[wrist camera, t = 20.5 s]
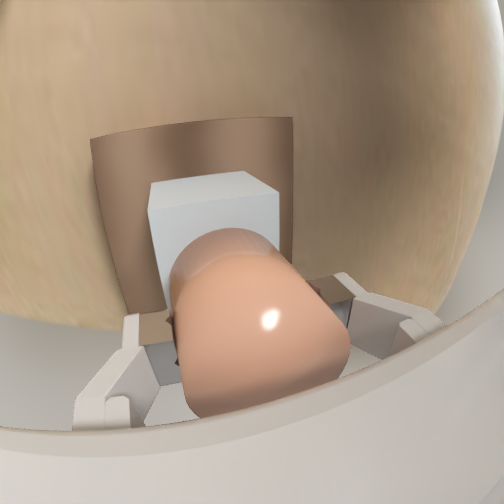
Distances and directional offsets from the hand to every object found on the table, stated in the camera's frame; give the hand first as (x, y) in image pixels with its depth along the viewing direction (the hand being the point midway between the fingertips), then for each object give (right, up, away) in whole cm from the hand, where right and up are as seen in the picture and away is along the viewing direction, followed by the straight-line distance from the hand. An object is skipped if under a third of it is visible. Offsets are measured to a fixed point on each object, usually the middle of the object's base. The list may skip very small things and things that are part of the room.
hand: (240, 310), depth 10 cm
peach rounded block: (-1, +1, +2) cm, 2 cm away
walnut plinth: (-4, +5, +10) cm, 12 cm away
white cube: (-3, +4, +8) cm, 9 cm away
